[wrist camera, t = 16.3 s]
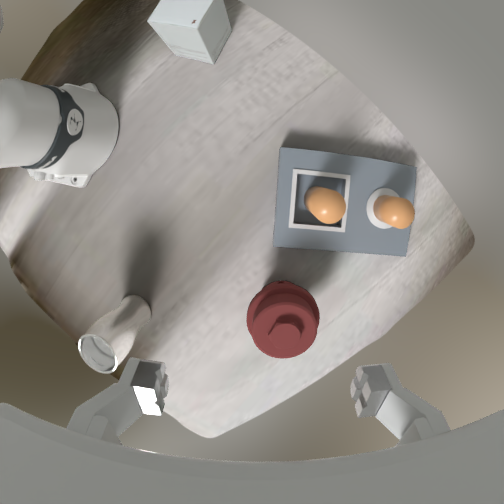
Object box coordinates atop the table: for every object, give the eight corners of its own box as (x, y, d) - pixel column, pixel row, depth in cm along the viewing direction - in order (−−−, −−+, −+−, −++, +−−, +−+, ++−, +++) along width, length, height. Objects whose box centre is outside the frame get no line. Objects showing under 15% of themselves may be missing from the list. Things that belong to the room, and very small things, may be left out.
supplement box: (233, 30, 36) (223, -12, 24) (214, 66, 38) (196, 30, 26) (192, 20, 36) (172, -19, 24) (173, 55, 38) (145, 21, 25)
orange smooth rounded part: (302, 212, 42) (312, 223, 34) (304, 185, 41) (313, 188, 33) (329, 213, 42) (344, 224, 34) (330, 186, 41) (346, 190, 32)
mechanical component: (237, 287, 47) (292, 256, 45) (269, 334, 49) (321, 306, 47) (228, 324, 35) (301, 284, 33) (270, 379, 37) (337, 345, 35)
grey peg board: (272, 241, 45) (274, 257, 36) (279, 149, 41) (283, 141, 32) (398, 251, 44) (423, 267, 35) (407, 167, 41) (436, 166, 32)
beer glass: (133, 284, 48) (89, 323, 33) (161, 313, 49) (127, 361, 34) (112, 307, 49) (69, 348, 34) (139, 333, 50) (104, 381, 35)
